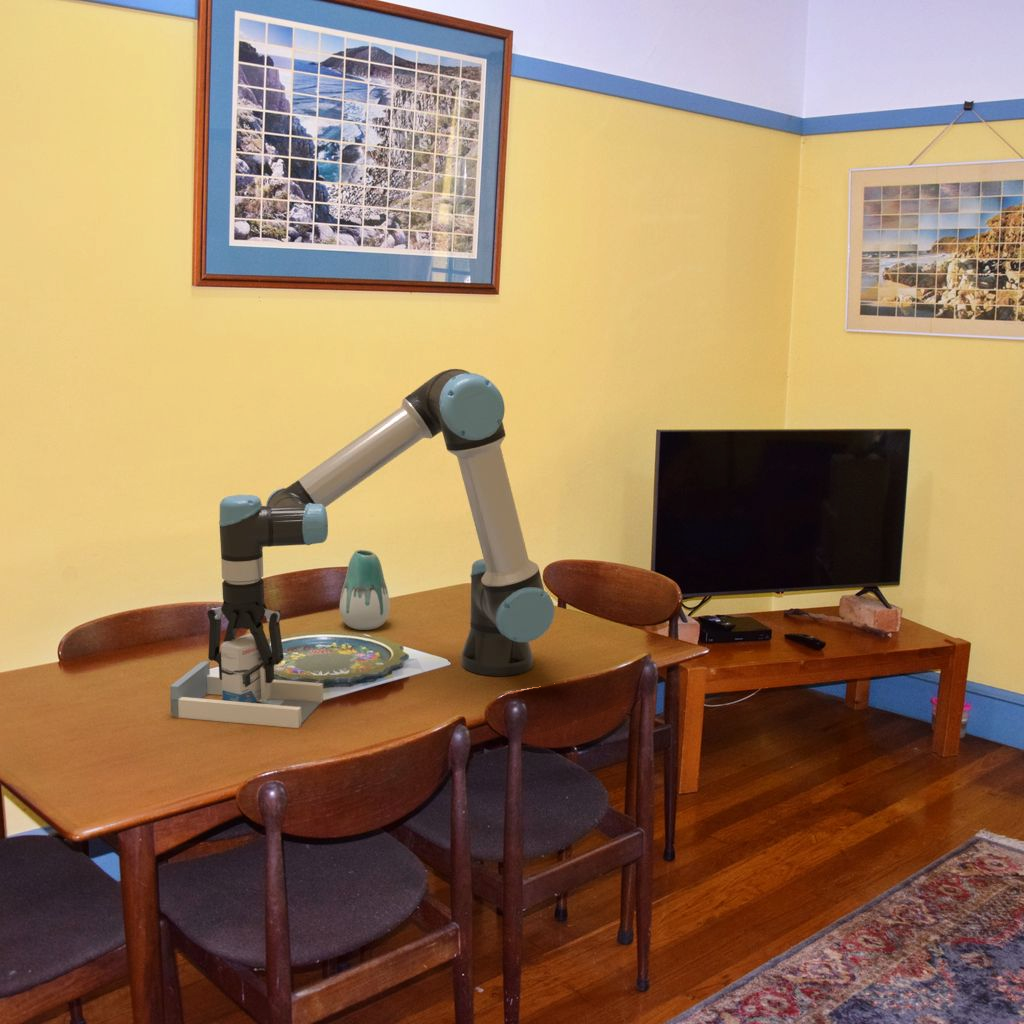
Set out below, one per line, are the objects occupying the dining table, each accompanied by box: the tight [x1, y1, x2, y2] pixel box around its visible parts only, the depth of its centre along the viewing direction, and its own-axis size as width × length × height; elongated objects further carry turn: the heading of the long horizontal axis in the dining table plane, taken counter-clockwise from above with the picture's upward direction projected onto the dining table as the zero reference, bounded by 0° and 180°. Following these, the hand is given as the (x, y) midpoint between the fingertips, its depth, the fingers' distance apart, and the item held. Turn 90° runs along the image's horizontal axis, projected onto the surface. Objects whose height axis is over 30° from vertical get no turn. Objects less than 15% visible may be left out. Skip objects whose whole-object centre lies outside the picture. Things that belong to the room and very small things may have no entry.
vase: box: [339, 549, 391, 631], centre depth 279 cm, size 12×12×18 cm
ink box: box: [220, 633, 271, 703], centre depth 227 cm, size 8×5×12 cm, turn 148°
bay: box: [169, 660, 324, 729], centre depth 227 cm, size 24×14×6 cm, turn 81°
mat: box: [279, 700, 321, 725], centre depth 227 cm, size 7×11×1 cm, turn 171°
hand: (247, 696), depth 228 cm, fingers closed on ink box, 6 cm apart
